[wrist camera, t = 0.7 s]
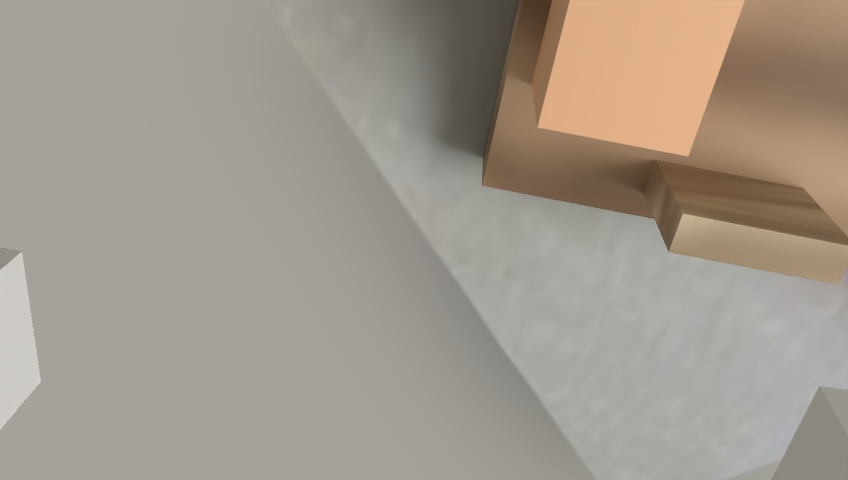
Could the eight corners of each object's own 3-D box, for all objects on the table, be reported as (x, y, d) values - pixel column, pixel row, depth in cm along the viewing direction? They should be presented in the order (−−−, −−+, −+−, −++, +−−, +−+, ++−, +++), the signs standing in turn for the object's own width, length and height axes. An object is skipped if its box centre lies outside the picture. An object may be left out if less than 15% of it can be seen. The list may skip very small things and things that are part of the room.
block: (564, -52, 26) (578, -33, 22) (703, -25, 26) (744, 0, 22) (531, 84, 29) (537, 127, 24) (659, 109, 29) (688, 156, 24)
